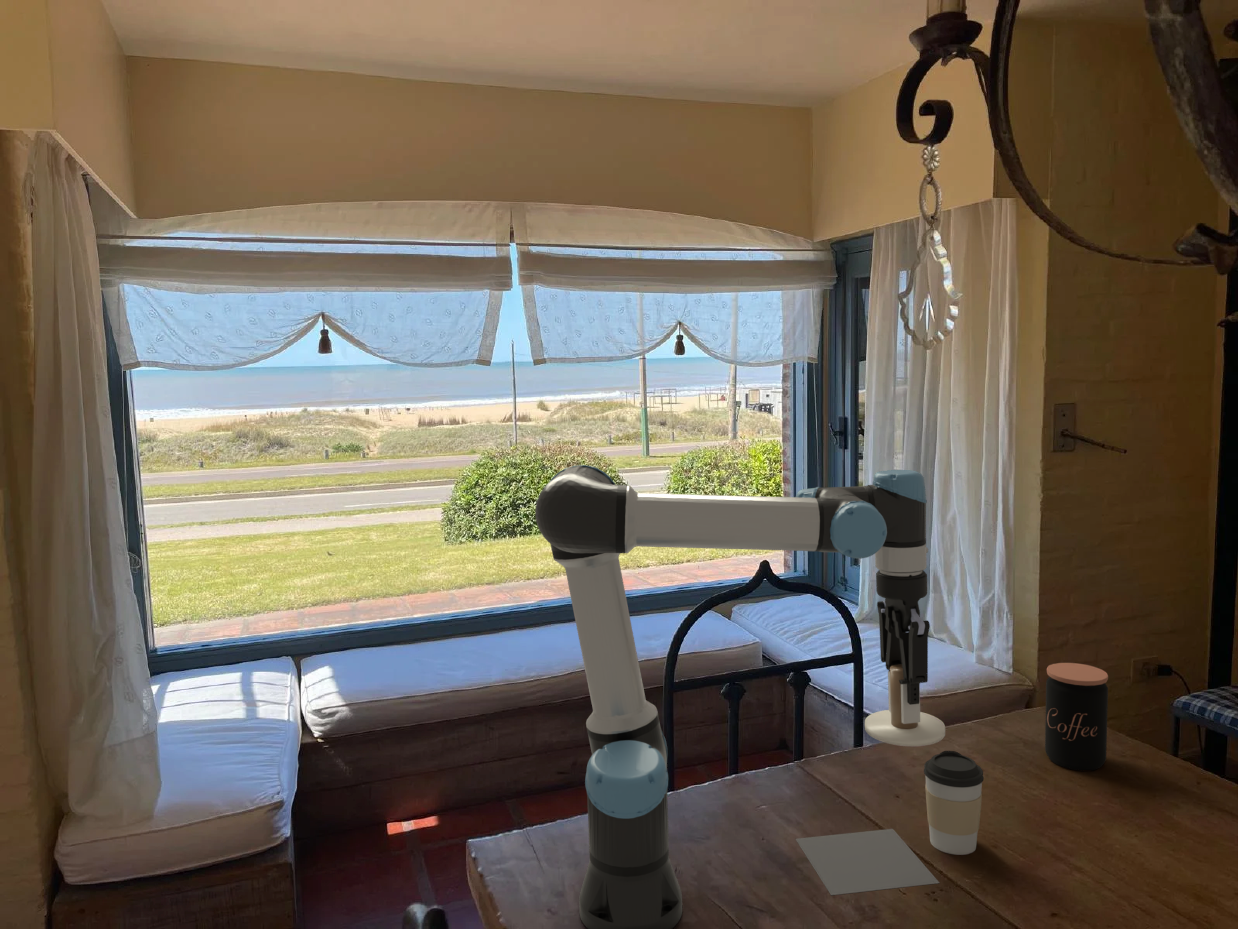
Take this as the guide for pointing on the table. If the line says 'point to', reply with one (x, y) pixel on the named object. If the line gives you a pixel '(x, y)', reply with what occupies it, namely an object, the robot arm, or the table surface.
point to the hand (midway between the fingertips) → (904, 716)
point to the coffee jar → (1076, 716)
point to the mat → (865, 862)
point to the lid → (890, 723)
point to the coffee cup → (953, 801)
